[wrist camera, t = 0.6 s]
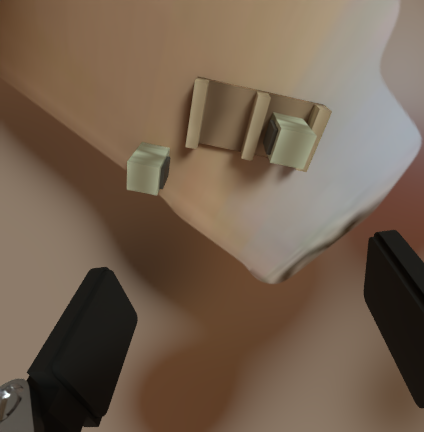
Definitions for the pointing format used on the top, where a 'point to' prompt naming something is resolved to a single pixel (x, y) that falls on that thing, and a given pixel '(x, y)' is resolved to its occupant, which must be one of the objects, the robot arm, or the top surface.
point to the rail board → (256, 123)
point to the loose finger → (148, 168)
